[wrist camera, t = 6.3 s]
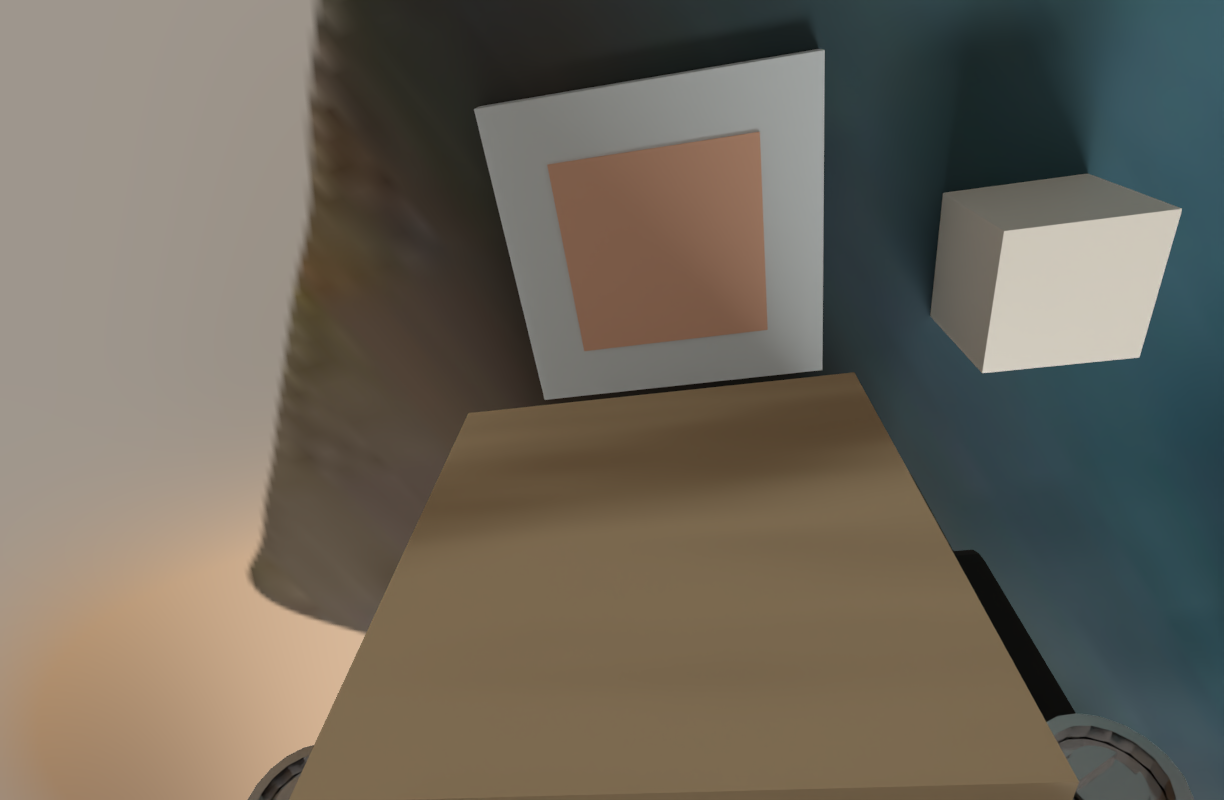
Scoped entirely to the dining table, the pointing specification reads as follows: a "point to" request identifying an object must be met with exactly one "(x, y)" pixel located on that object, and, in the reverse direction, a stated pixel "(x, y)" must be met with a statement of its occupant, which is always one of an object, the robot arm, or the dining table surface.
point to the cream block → (1050, 271)
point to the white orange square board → (667, 224)
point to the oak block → (683, 619)
